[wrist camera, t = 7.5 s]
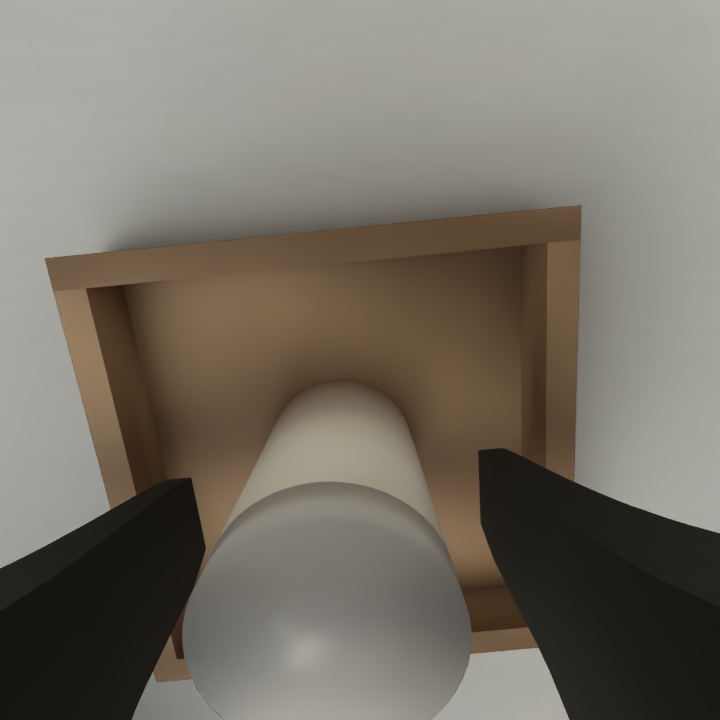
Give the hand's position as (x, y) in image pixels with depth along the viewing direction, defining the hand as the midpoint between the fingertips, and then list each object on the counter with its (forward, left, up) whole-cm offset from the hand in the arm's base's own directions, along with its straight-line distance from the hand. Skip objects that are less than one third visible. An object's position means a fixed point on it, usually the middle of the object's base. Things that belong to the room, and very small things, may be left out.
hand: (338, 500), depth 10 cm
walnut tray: (0, 0, -3) cm, 3 cm away
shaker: (0, 0, -3) cm, 3 cm away
